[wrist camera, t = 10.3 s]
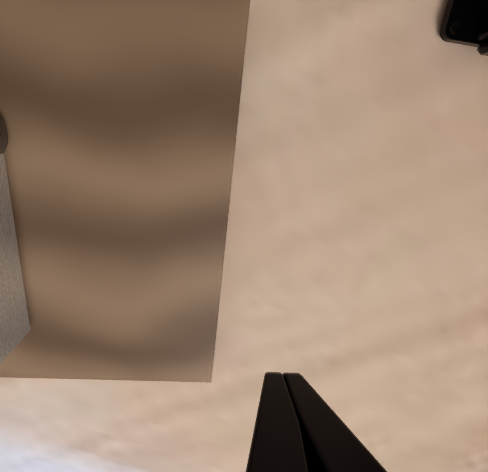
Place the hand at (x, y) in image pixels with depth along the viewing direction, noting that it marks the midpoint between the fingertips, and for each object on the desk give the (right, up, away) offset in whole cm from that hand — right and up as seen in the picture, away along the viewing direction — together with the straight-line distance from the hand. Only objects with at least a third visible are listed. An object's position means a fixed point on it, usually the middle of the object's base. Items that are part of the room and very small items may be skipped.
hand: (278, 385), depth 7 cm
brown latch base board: (-11, +5, +10) cm, 16 cm away
